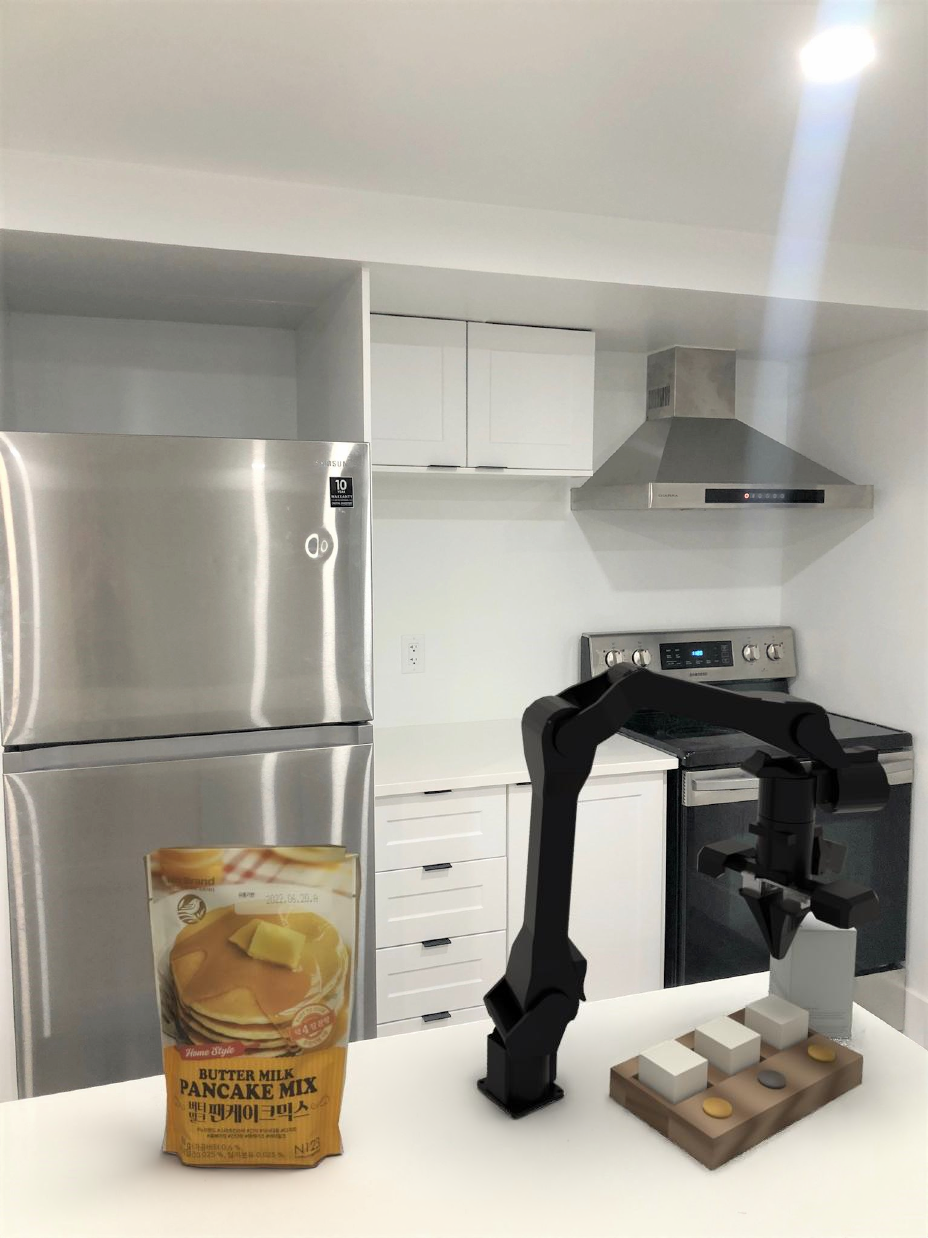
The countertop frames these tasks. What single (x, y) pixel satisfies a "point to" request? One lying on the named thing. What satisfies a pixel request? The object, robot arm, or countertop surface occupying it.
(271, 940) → the pancake mix bag
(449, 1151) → the countertop surface
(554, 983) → the robot arm
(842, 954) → the supplement box
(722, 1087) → the button board
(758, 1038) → the middle button
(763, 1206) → the countertop surface
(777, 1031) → the far button
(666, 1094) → the near button
